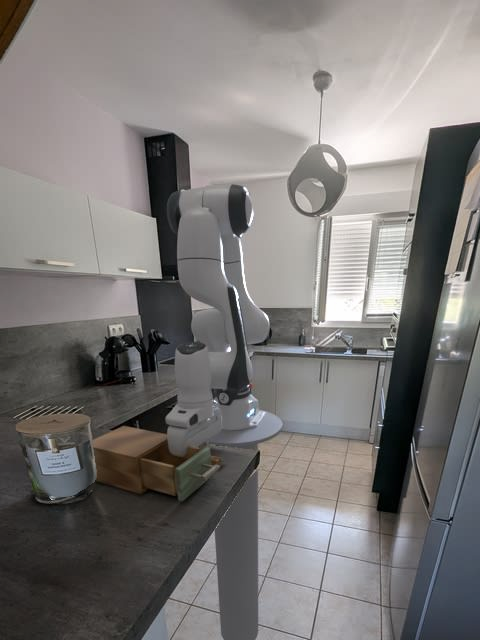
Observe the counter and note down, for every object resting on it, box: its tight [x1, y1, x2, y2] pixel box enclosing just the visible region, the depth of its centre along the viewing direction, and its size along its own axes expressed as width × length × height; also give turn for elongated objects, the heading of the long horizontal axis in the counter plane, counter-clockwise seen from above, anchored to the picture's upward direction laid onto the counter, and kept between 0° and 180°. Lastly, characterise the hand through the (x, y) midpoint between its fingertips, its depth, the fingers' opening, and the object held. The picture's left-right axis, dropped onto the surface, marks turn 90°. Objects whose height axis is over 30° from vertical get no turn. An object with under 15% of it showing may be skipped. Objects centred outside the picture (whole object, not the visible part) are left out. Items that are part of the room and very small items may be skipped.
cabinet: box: [91, 425, 168, 495], centre depth 89 cm, size 17×14×10 cm
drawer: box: [138, 442, 220, 502], centre depth 84 cm, size 20×12×8 cm, turn 64°
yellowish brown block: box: [211, 454, 222, 469], centre depth 95 cm, size 8×2×3 cm, turn 64°
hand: (199, 458), depth 95 cm, fingers closed on yellowish brown block, 2 cm apart
